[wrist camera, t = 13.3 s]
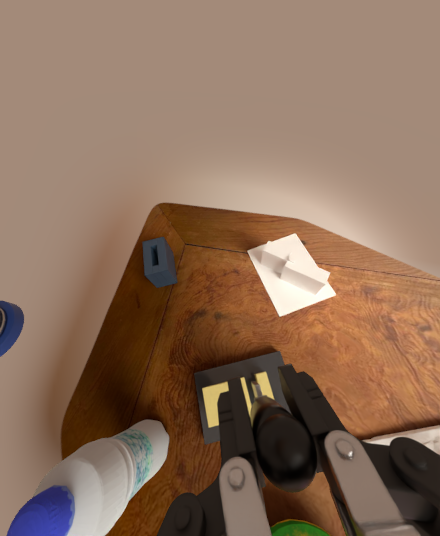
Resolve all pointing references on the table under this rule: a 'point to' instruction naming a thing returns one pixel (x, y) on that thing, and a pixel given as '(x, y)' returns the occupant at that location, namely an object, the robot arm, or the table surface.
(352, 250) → the table surface
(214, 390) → the butter block
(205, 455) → the table surface
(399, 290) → the table surface
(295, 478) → the knife
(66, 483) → the bottle
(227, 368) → the board
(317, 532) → the figurine
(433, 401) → the table surface
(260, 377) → the butter pat
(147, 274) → the knife stand
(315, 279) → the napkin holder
